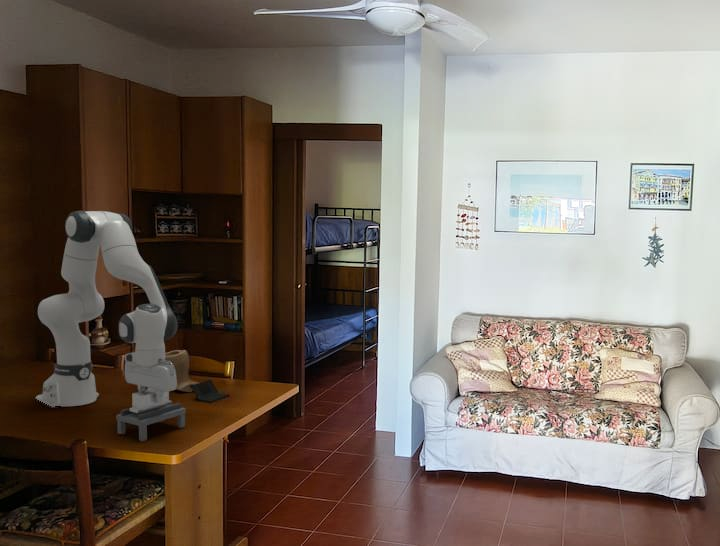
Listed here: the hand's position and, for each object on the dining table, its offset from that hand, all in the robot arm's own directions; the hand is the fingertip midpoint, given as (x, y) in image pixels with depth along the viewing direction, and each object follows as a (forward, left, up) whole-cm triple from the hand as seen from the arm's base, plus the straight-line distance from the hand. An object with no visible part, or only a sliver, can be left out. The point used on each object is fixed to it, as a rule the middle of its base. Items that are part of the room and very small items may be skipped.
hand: (151, 400), depth 218 cm
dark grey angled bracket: (-12, +37, -10) cm, 40 cm away
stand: (0, 0, -9) cm, 9 cm away
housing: (0, 0, -2) cm, 2 cm away
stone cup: (-30, +39, -10) cm, 50 cm away
